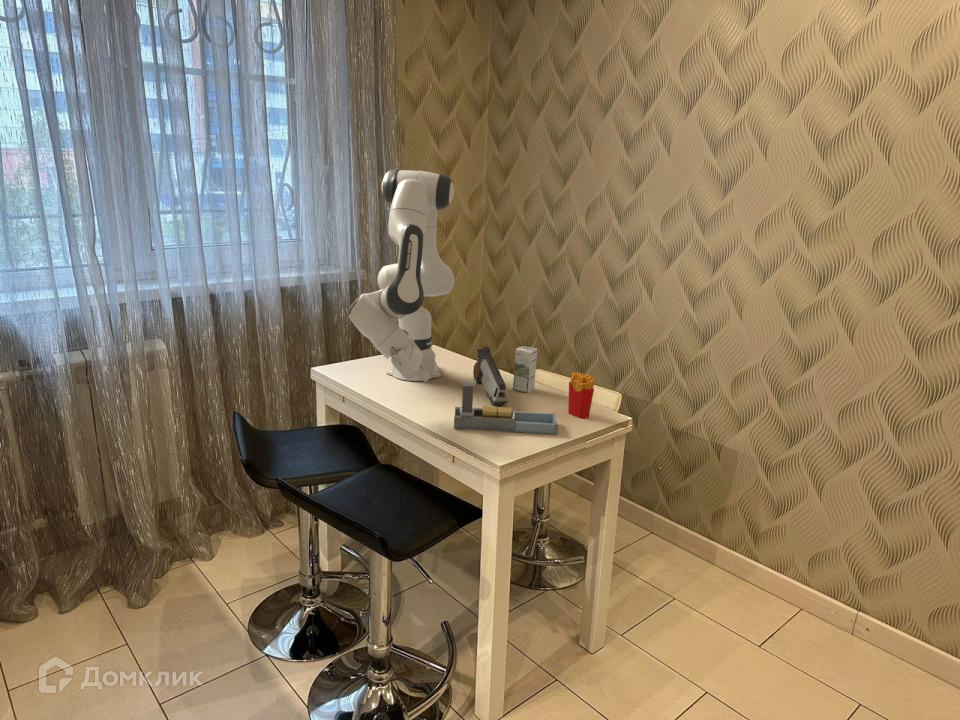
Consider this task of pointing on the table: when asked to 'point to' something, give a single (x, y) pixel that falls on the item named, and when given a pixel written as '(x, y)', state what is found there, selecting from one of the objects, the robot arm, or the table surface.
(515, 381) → the syrup box
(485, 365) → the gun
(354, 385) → the table surface
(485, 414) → the golden tan cube
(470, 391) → the tall gray pillar
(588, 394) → the french fries
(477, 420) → the slot bed
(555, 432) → the tray
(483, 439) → the table surface
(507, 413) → the mustard yellow cube
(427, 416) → the table surface
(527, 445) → the table surface
